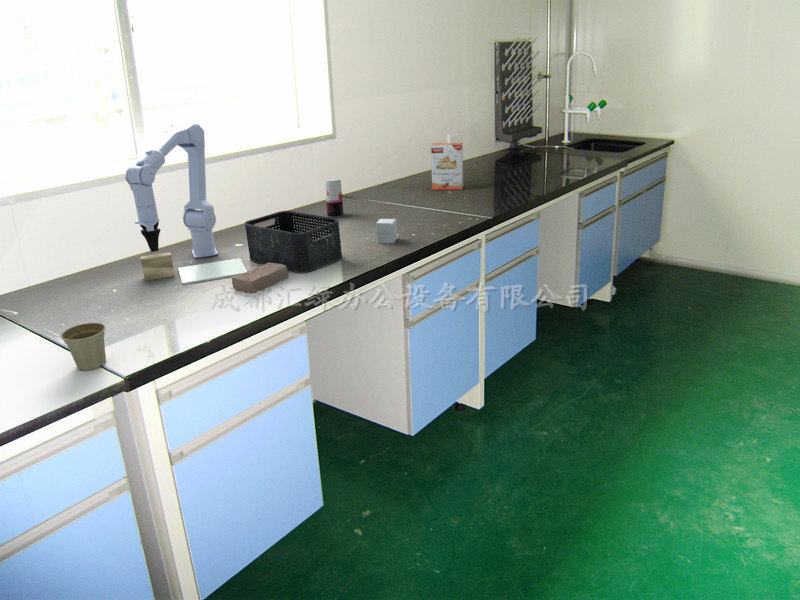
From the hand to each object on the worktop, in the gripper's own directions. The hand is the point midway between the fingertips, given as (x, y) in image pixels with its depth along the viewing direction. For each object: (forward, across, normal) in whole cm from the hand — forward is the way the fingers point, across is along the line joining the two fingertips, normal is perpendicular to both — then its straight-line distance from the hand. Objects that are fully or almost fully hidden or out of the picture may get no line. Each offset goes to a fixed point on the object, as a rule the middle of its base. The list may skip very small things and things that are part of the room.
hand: (154, 248), depth 204 cm
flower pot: (+10, +58, -18) cm, 61 cm away
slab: (+10, 0, 0) cm, 10 cm away
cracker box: (+10, -62, +131) cm, 145 cm away
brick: (+10, +23, +28) cm, 38 cm away
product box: (+10, +1, +77) cm, 78 cm away
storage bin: (+10, +5, +43) cm, 44 cm away
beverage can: (+10, -43, +71) cm, 84 cm away
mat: (+9, +4, +16) cm, 19 cm away
